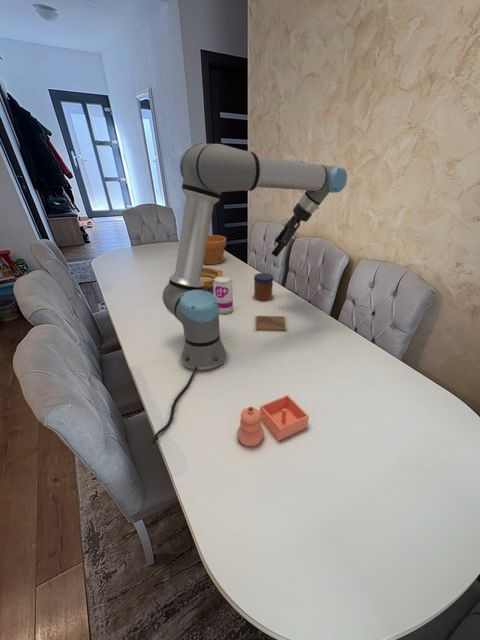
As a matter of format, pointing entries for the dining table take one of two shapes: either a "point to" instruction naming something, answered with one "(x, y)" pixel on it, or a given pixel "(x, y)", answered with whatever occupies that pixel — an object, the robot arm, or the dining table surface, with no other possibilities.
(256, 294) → the jar
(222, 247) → the flower pot
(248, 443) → the pottery
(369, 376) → the dining table surface
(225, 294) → the supplement can
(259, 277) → the jar lid
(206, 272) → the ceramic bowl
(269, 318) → the coaster
